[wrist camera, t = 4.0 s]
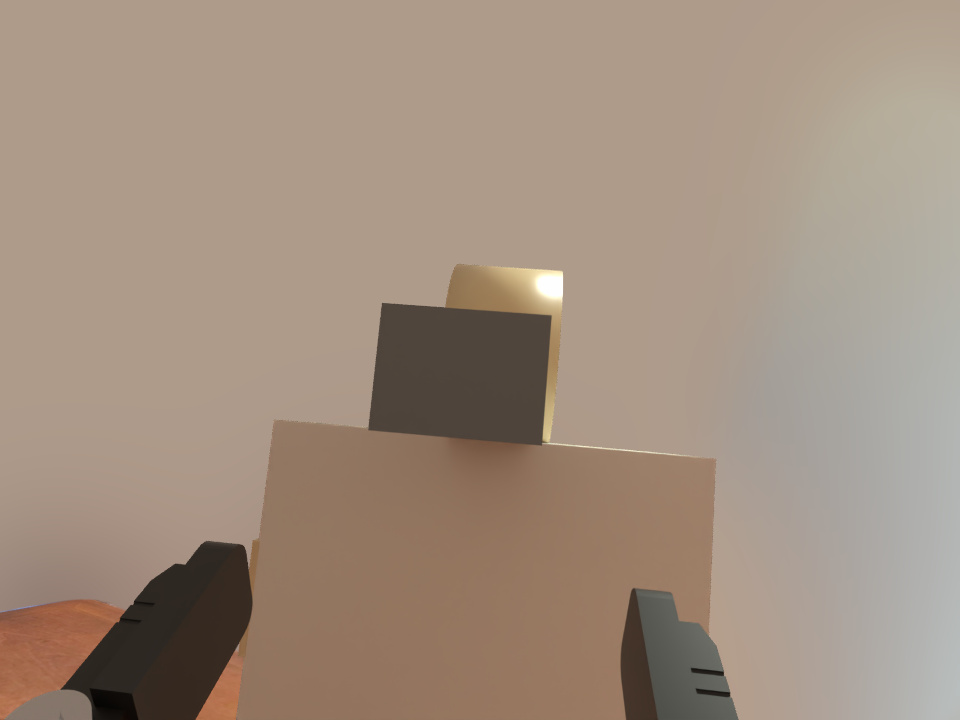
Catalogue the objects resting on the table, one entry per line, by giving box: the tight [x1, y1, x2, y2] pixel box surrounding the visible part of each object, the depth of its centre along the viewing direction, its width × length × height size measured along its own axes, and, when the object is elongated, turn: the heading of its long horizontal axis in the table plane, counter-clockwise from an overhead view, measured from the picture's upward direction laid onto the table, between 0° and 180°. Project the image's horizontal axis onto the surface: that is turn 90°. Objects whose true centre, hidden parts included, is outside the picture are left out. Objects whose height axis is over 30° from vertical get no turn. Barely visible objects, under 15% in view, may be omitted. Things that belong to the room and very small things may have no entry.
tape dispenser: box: [368, 264, 563, 446], centre depth 28 cm, size 27×6×10 cm, turn 176°
